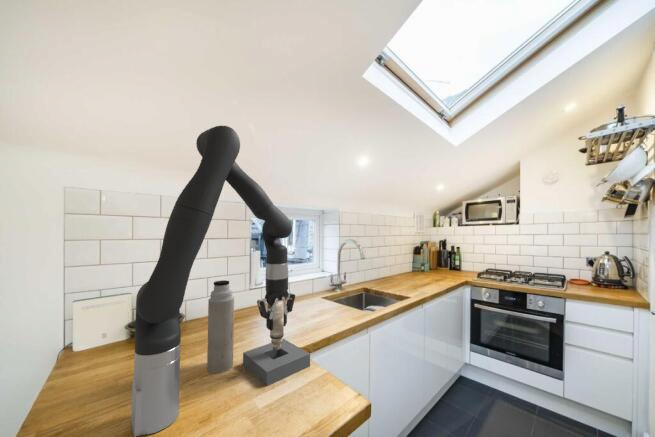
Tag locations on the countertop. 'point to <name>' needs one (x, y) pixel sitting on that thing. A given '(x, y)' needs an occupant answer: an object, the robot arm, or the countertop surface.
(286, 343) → the gray board
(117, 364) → the countertop surface
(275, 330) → the ash peg
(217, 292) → the thermos bottle
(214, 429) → the countertop surface
